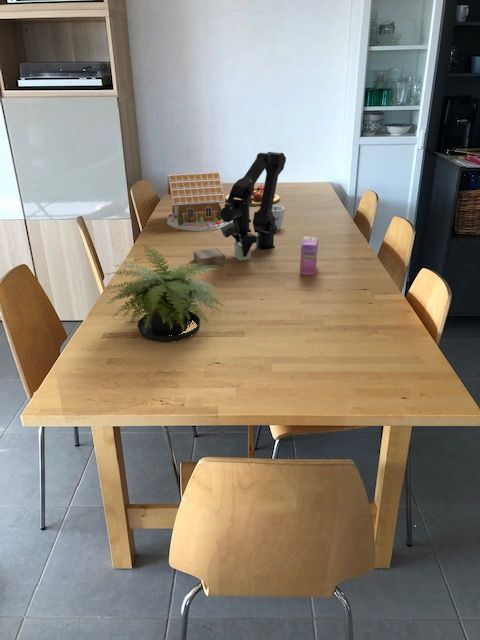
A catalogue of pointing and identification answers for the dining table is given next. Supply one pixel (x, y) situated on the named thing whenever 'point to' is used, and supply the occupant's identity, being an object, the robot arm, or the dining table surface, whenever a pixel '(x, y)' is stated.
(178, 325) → the fern plant
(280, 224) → the white cup
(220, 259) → the walnut base
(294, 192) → the dining table surface
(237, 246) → the green block
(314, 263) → the box
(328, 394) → the dining table surface
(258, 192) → the wooden plate with food
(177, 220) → the gingerbread house
